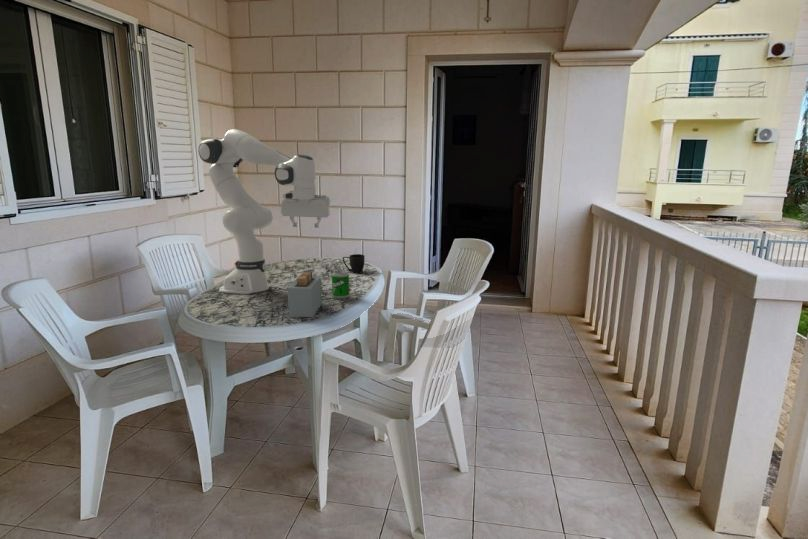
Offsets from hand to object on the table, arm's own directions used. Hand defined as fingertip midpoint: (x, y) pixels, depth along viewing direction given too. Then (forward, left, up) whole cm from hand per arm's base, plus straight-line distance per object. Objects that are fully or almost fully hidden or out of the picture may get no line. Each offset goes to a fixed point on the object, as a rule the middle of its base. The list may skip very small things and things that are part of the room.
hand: (305, 227), depth 193 cm
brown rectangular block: (+3, -16, -25) cm, 30 cm away
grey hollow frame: (+3, -16, -32) cm, 36 cm away
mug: (+13, +51, -32) cm, 61 cm away
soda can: (+14, +3, -32) cm, 35 cm away
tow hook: (+12, +15, -32) cm, 37 cm away
